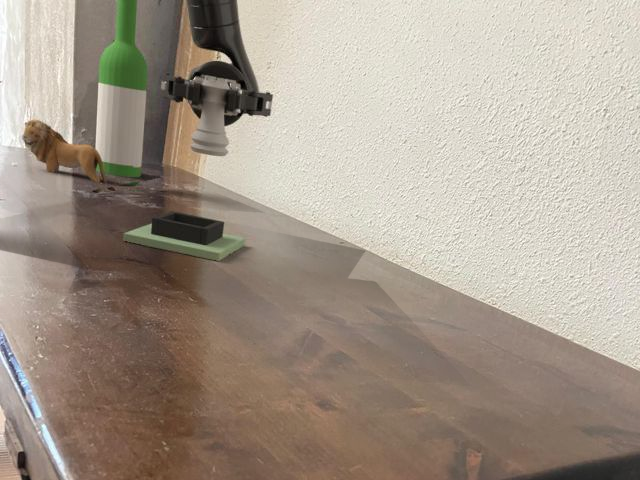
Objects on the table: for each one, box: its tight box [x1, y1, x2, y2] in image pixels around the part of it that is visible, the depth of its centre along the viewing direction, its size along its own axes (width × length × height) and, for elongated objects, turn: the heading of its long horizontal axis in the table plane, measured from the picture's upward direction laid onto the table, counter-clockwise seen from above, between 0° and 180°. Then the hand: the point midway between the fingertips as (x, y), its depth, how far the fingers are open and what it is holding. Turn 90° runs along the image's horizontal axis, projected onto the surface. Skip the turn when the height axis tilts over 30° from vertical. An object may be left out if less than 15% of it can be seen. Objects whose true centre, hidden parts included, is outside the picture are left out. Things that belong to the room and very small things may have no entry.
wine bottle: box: [94, 0, 148, 187], centre depth 123 cm, size 8×8×30 cm
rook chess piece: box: [189, 75, 230, 157], centre depth 84 cm, size 4×4×8 cm
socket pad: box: [123, 210, 246, 262], centre depth 94 cm, size 12×12×3 cm
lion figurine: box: [21, 119, 116, 194], centre depth 116 cm, size 15×5×9 cm, turn 88°
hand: (213, 97), depth 81 cm, fingers closed on rook chess piece, 3 cm apart
